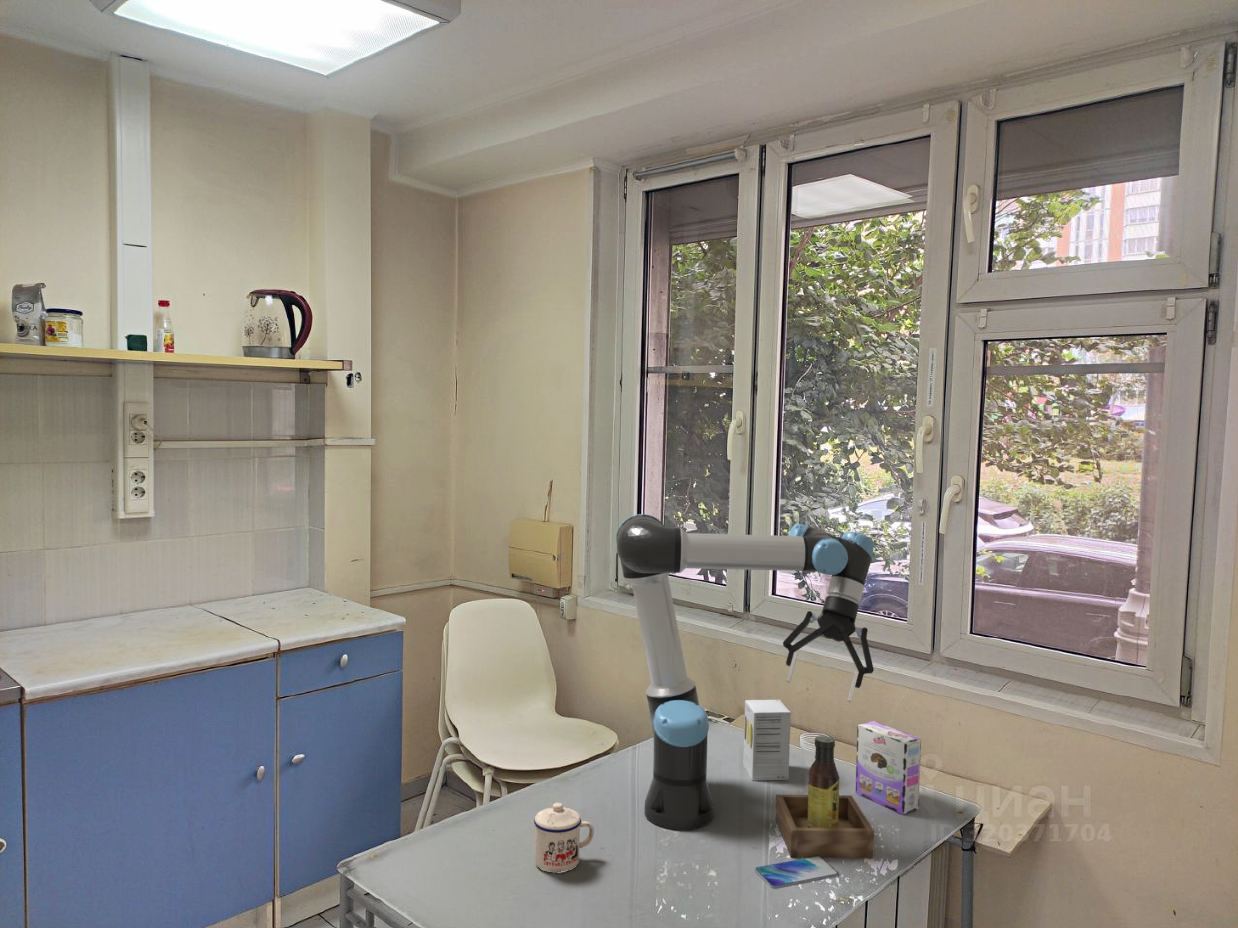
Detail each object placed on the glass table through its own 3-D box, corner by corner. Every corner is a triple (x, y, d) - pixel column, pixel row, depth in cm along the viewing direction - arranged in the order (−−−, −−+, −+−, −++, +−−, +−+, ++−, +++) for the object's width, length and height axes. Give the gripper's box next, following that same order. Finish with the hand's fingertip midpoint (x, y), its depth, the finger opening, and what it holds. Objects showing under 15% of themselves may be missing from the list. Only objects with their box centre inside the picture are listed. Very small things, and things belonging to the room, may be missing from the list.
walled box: (790, 857, 177) (791, 830, 176) (775, 819, 193) (776, 794, 193) (873, 858, 177) (874, 831, 176) (850, 819, 193) (851, 795, 193)
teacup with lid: (541, 878, 167) (542, 818, 166) (528, 855, 175) (528, 797, 174) (601, 867, 171) (602, 808, 170) (585, 845, 180) (586, 789, 179)
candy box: (919, 809, 199) (922, 737, 198) (902, 815, 196) (905, 742, 195) (870, 787, 210) (873, 719, 209) (853, 792, 207) (856, 723, 206)
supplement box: (742, 765, 222) (744, 699, 221) (778, 764, 223) (780, 698, 222) (752, 781, 212) (754, 712, 211) (789, 780, 213) (791, 711, 212)
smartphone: (841, 873, 170) (772, 886, 165) (840, 877, 170) (772, 891, 165) (819, 854, 177) (753, 866, 171) (819, 858, 177) (752, 871, 171)
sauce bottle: (838, 842, 181) (841, 746, 180) (807, 838, 182) (810, 743, 181) (837, 827, 187) (840, 735, 186) (806, 824, 189) (809, 732, 187)
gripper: (897, 618, 202) (874, 710, 196) (789, 587, 209) (764, 675, 203) (900, 612, 195) (876, 708, 189) (788, 580, 202) (762, 671, 197)
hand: (818, 691), depth 196 cm, fingers open, 13 cm apart
